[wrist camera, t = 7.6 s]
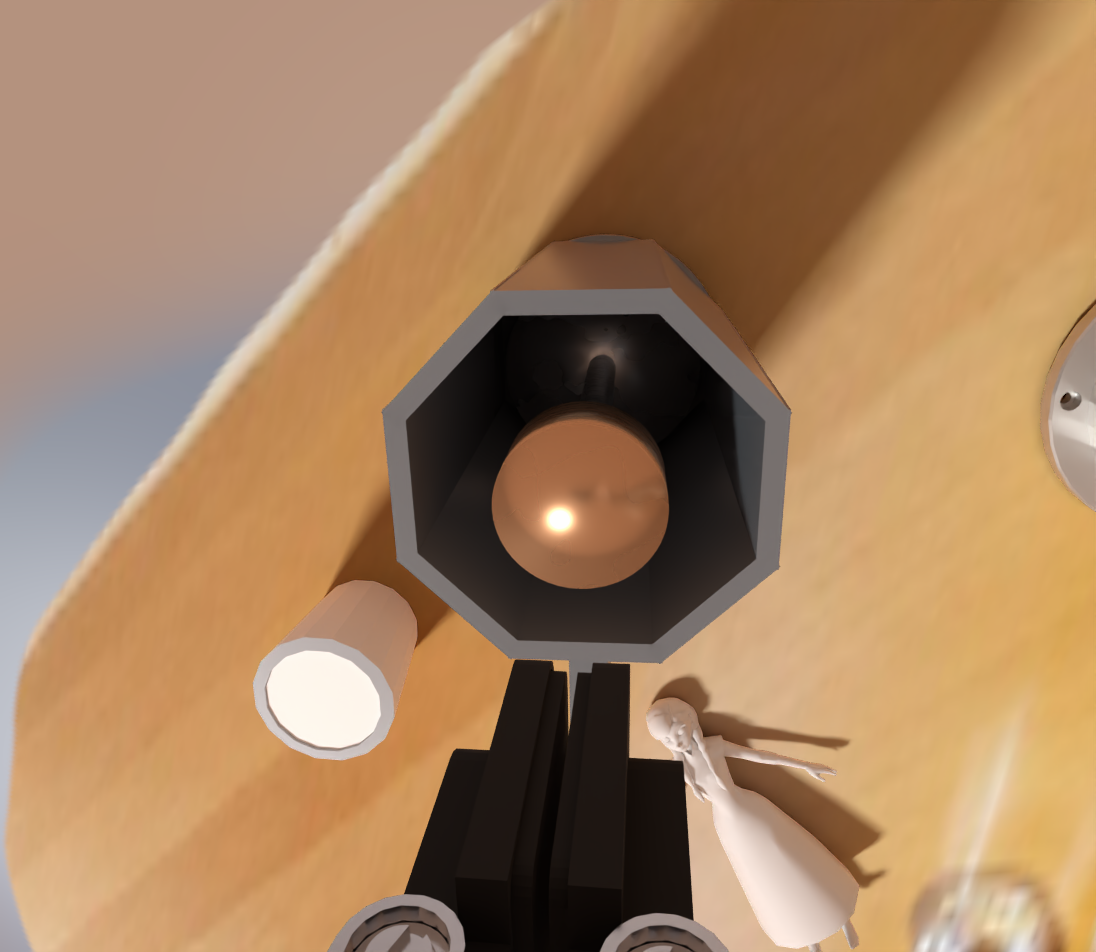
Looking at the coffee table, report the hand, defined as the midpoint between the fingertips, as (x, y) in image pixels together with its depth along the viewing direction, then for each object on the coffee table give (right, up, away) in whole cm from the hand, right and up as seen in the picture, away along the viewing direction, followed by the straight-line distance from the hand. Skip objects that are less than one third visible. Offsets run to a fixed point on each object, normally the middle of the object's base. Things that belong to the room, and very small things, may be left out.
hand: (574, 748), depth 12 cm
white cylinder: (-10, -4, +33) cm, 35 cm away
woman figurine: (+11, -15, +35) cm, 40 cm away
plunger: (+2, +9, +24) cm, 26 cm away
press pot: (+2, +8, +27) cm, 28 cm away
